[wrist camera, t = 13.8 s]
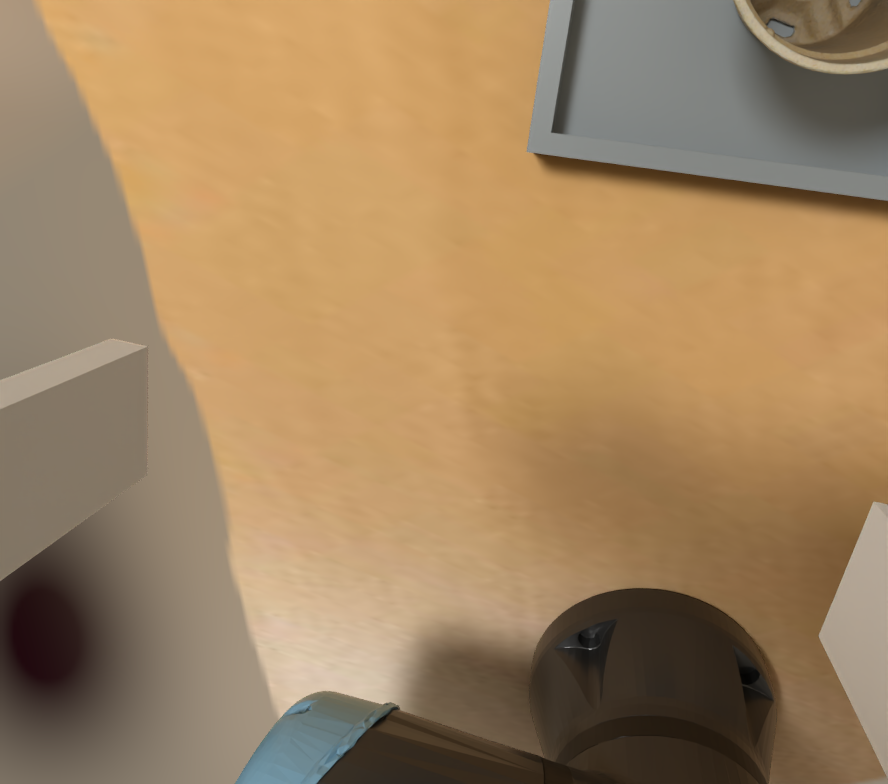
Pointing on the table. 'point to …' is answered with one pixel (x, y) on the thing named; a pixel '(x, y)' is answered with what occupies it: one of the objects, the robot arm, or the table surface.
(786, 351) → the table surface
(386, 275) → the table surface
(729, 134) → the tray
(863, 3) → the flower pot
